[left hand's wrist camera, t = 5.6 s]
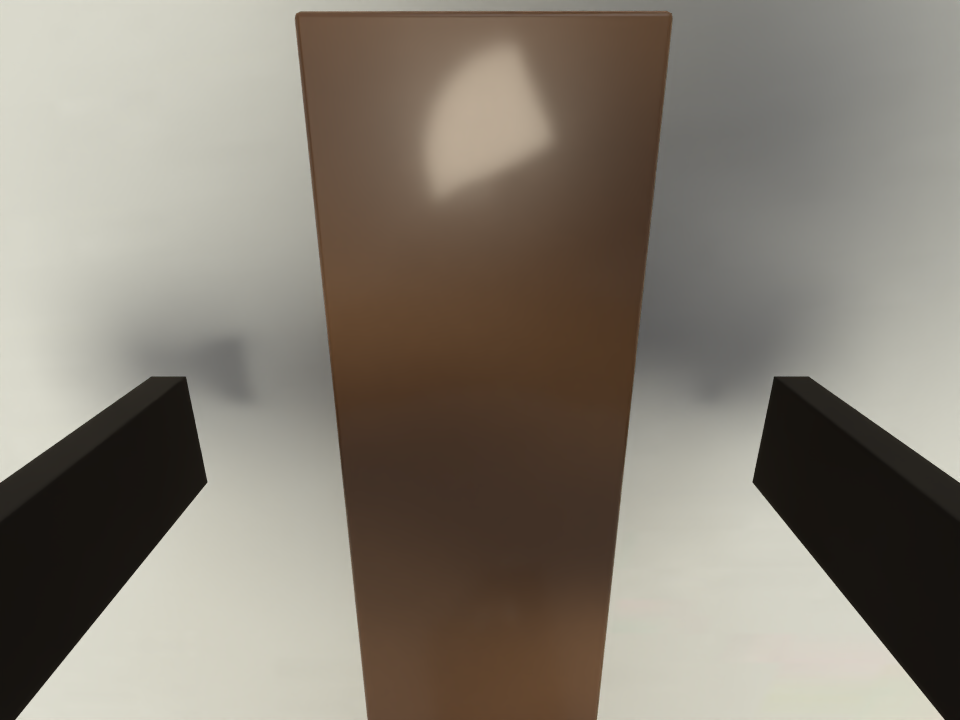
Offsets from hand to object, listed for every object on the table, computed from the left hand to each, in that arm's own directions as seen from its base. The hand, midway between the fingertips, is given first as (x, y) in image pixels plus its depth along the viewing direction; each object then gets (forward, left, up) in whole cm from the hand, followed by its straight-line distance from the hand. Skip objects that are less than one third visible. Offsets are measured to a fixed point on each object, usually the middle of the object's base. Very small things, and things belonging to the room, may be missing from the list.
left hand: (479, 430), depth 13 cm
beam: (+12, +13, -4) cm, 18 cm away
